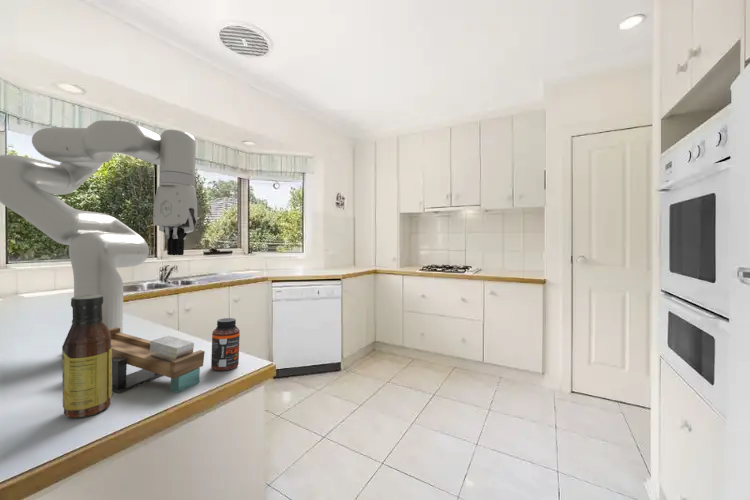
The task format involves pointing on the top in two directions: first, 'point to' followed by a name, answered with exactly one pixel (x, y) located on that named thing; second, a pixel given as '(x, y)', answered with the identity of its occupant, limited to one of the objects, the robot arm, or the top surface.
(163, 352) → the rider
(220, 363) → the supplement bottle
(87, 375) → the sauce bottle
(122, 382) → the fulcrum
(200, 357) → the beam
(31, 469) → the top surface
